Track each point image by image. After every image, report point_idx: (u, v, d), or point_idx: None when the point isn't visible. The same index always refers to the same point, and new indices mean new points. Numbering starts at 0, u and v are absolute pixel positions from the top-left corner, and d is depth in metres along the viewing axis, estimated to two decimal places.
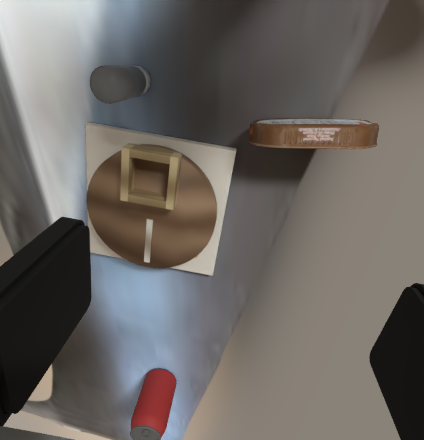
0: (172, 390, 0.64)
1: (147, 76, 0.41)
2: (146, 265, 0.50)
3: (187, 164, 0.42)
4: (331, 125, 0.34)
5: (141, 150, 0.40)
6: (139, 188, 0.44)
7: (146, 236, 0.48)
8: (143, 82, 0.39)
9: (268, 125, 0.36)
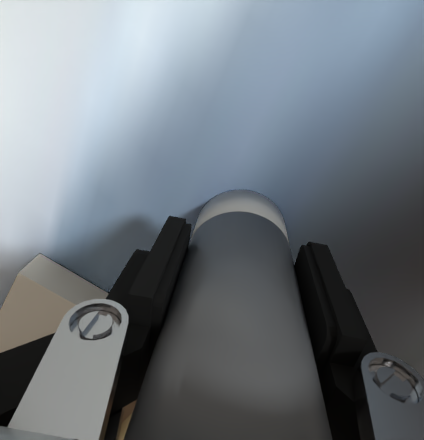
0: None
1: None
2: None
3: None
4: None
5: None
6: None
7: None
8: None
9: None
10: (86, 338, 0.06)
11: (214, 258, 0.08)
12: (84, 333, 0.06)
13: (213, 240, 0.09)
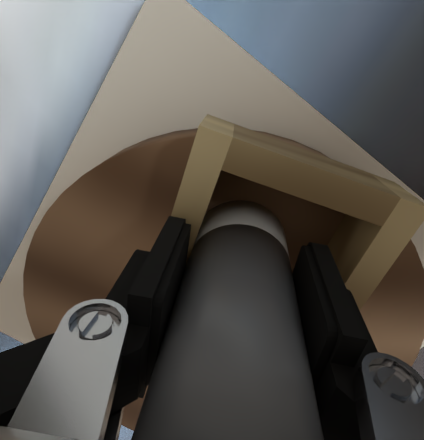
0: None
1: None
2: None
3: None
4: None
5: (278, 151, 0.09)
6: None
7: None
8: None
9: None
10: (86, 338, 0.06)
11: (200, 279, 0.08)
12: (84, 333, 0.06)
13: (201, 260, 0.09)
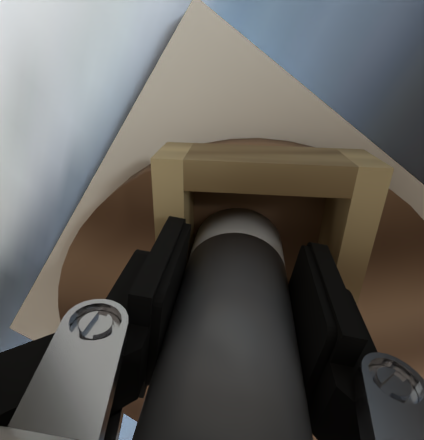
0: None
1: (282, 250, 0.12)
2: None
3: None
4: None
5: (230, 159, 0.10)
6: None
7: None
8: None
9: None
10: (86, 338, 0.06)
11: (184, 296, 0.09)
12: (84, 333, 0.06)
13: (187, 277, 0.10)
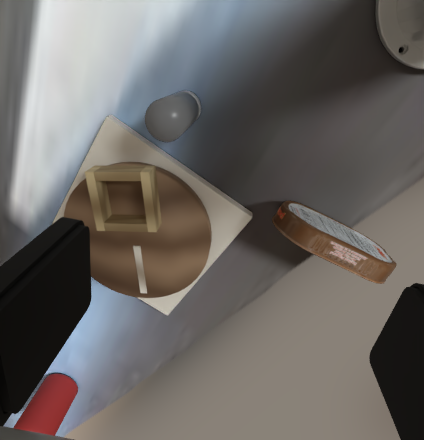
0: (70, 403, 0.58)
1: (199, 103, 0.35)
2: (144, 296, 0.45)
3: (164, 177, 0.37)
4: (361, 251, 0.34)
5: (107, 171, 0.35)
6: (118, 213, 0.39)
7: (137, 265, 0.42)
8: (197, 111, 0.34)
9: (304, 223, 0.33)
10: None
11: None
12: None
13: None
